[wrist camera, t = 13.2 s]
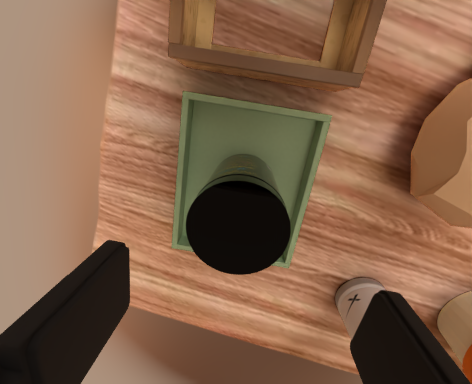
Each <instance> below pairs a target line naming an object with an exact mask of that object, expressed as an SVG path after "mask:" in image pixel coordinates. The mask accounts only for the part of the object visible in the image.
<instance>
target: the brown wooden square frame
mask: <svg viewBox="0 0 472 384" xmlns="http://www.w3.org/2000/svg"><path fill="white" fill-rule="evenodd" d="M216 1H217V0H170V14H169V34H168V42H169V48H168V56H169V57H170V58H174V59H176V60H177V61H179V62H180V63H181V64H183V65H184V66H186V67H187V68H193V69H199V70H205V71H211V72H217V73H223V74H229V75H235V76H242V77H248V78H254V79H260V80H266V81H272V82H278V83H284V84H290V85H296V86H302V87H308V88H314V89H321V90H327V91H333V92H337V91H341V90H345V89H348V88H359V86H360V83H361V80H362V77H363V74H364V72H365V69H366V66H367V63H368V59H369V56H370V53H371V50H372V46H373V43H374V40H375V37H376V33H377V30H378V27H379V24H380V21H381V17H382V14H383V11H384V8H385V4H386V1H387V0H335V1H334V5H333V9H332V13H331V17H330V21H329V25H328V29H327V33H326V38H325V42H324V46H323V50H322V54H321V58H320V61H314V60H307V59H301V58H295V57H289V56H283V55H277V54H271V53H265V52H258V51H252V50H246V49H240V48H234V47H228V46H222V45H216V44H212V39H213V30H214V20H215V11H216Z"/></svg>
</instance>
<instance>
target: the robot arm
mask: <svg viewBox="0 0 472 384" xmlns="http://www.w3.org/2000/svg"><path fill="white" fill-rule="evenodd" d="M129 303H130V269H129V248H128V247H126V246H125V243H123V242H117V241H112V240H107V241H106V242H105V243H104V244H102V245H101V246H100V247H99V248H98V249H97V250H96V251H95V252H93V253H92V254H91V255H90V256H89V257H88V258H87V259H86V260H85V261H83V262H82V263H81V264H80V265H79V266H78V267H77V268H76V269H75V270H74V271H72V272H71V273H70V274H69V275H67V276H66V277H65V278H63V279H62V280H61V281H60V282H59V283H58V284H57V285H56V286H55V287H53V288H52V289H51V290H50V291H49V292H48V293H47V294H46V295H44V297H42V298H41V299H40V300H39V301H38V302H37V303H36V304H34V305H33V306H32V307H31V308H30V309H29V310H28V311H26V312H25V313H24V314H23V315H22V316H21V317H20V318H19V319H17V320H16V321H15V322H14V323H13V324H12V325H11V326H10V327H8V328H7V329H6V330H5V331H4V332H3V333H2V334H1V335H0V384H81V382H82V380H83V379H84V377H85V376H86V374H87V373H88V371H89V369H90V368H91V366H92V365H93V363H94V362H95V360H96V358H97V357H98V355H99V353H100V352H101V350H102V349H103V347H104V346H105V344H106V343H107V341H108V339H109V338H110V336H111V335H112V333H113V331H114V330H115V328H116V327H117V325H118V324H119V322H120V320H121V319H122V317H123V315H124V314H125V313H126V311H127V309H128V306H129ZM350 350H351V354H352V357H353V359H354V362H355V364H356V367H357V369H358V372H359V374H360V377H361V379H362V382H363V384H471V383H470V381H469V380H468V379H467V378H466V376H465V375H464V374H463V372H462V371H461V370H460V369H459V367H458V366H457V365H456V364H455V362H454V361H453V360H452V358H451V357H450V356H449V355H448V353H447V352H446V351H445V350H444V348H443V347H442V346H441V344H440V343H439V342H438V341H437V339H436V338H435V337H434V336H433V334H432V333H431V332H430V330H429V329H428V328H427V327H426V325H425V324H424V323H423V322H422V320H421V319H420V318H419V316H418V315H417V314H416V313H415V311H414V310H413V309H412V308H411V306H410V305H409V304H408V303H407V301H406V300H405V299H404V297H403V296H402V295H401V294H399V293H397V292H392V291H386V290H380V291H379V292H378V293H375V294H374V295H373V297H372V299H371V301H370V303H369V305H368V307H367V310H366V312H365V314H364V316H363V318H362V320H361V322H360V324H359V326H358V328H357V330H356V332H355V334H354V336H353V338H352V340H351V343H350Z"/></svg>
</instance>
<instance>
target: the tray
mask: <svg viewBox="0 0 472 384" xmlns="http://www.w3.org/2000/svg"><path fill="white" fill-rule="evenodd" d="M331 118H332V115H327V114H321V113H315V112H309V111H302V110H296V109H290V108H284V107H278V106H272V105H266V104H260V103H254V102H248V101H242V100H236V99H230V98H224V97H218V96H212V95H206V94H200V93H194V92H188V91H183V95H182V109H181V123H180V137H179V151H178V165H177V178H176V192H175V206H174V220H173V234H172V248H174V249H180V250H186V251H192V252H194V251H193V249H192V248H191V246H190V244H189V241H188V238H187V234H186V218H187V214H188V211H189V209H190V207H191V205H192V203H193V202H194V200H195V198H196V196H197V195H198V193H199V192H200V191H201V189H202V188H203V187H204V186H205V184H206V183H207V181H208V180H209V178H210V177H211V175H212V174H213V172H214V171H215V169H216V167H217V166H218V165H219V164H220V163H221V162H222V161H223V160H224V159H226V158H228V157H230V156H232V155H236V154H250V155H253V156H256V157H258V158H260V159H262V160H263V161H264V162H265V163H266V164H267V165H268V166H269V167H270V169H271V170H272V172H273V175H274V178H275V181H276V183H277V186H278V189H279V192H280V195H281V197H282V199H283V201H284V203H285V206H286V209H287V213H288V215H289V219H290V224H291V234H290V239H289V243H288V245H287V247H286V249H285V251H284V253H283V254H282V255H281V257H280V258H279V259H278V260H277V261H276V262H275V263H273V264H272V266H278V267H284V268H289V266H290V263H291V259H292V256H293V252H294V249H295V245H296V242H297V238H298V235H299V231H300V228H301V224H302V221H303V217H304V214H305V210H306V206H307V203H308V199H309V196H310V192H311V189H312V185H313V182H314V178H315V175H316V171H317V168H318V164H319V161H320V157H321V153H322V150H323V146H324V143H325V139H326V136H327V132H328V129H329V125H330V122H331Z"/></svg>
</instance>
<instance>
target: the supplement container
mask: <svg viewBox="0 0 472 384" xmlns="http://www.w3.org/2000/svg"><path fill="white" fill-rule="evenodd" d="M186 234H187V238H188V241H189V244H190V246H191V248H192V249H193V251H194V252H195V254H196V255H197V256H198V257H199V258H200V259H201V260H202V261H203V262H204V263H206V264H207V265H209V266H210V267H212V268H214V269H216V270H219V271H221V272H225V273H229V274H238V275H242V274H251V273H255V272H258V271H261V270H263V269H265V268H267V267H269V266H271V265H272V264H273V263H275V262H276V261H277V260H278V259H279V258H280V257H281V255H282V254H283V253H284V251H285V249H286V247H287V245H288V243H289V239H290V234H291V224H290V219H289V215H288V213H287V209H286V206H285V203H284V201H283V199H282V197H281V195H280V192H279V189H278V186H277V183H276V181H275V178H274V175H273V172H272V170H271V169H270V167H269V166H268V165H267V164H266V163H265V162H264V161H263V160H262V159H260V158H258V157H256V156H253V155H250V154H236V155H232V156H230V157H228V158H226V159H224V160H223V161H222V162H221V163H220V164H219V165H218V166H217V167H216V169H215V171H214V172H213V174H212V175H211V177H210V178H209V180H208V181H207V183H206V184H205V186H204V187H203V188H202V189H201V191H200V192H199V193H198V195H197V196H196V198H195V200H194V202H193V203H192V205H191V207H190V209H189V211H188V214H187V218H186Z"/></svg>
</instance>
